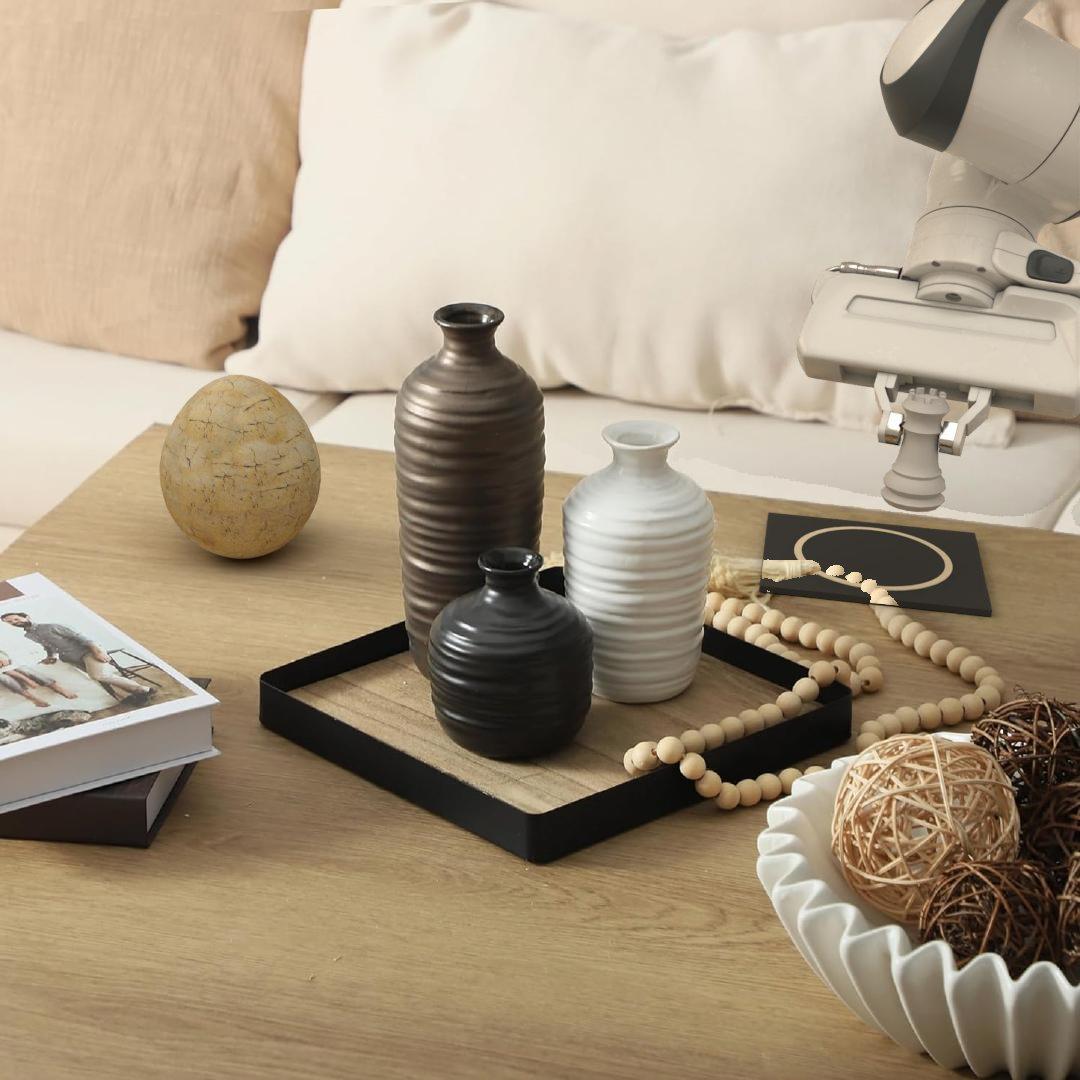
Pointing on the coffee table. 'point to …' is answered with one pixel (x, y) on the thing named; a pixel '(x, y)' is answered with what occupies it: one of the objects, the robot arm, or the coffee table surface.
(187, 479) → the fossilized egg
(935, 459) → the rook chess piece
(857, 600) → the black circle mat
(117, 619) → the coffee table surface
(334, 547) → the coffee table surface
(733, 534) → the coffee table surface
